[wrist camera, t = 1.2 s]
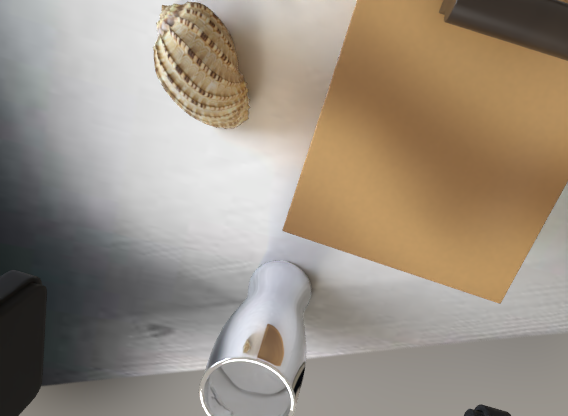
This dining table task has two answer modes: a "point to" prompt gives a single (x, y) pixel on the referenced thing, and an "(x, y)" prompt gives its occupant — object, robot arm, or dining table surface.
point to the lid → (441, 139)
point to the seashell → (200, 65)
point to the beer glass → (261, 347)
